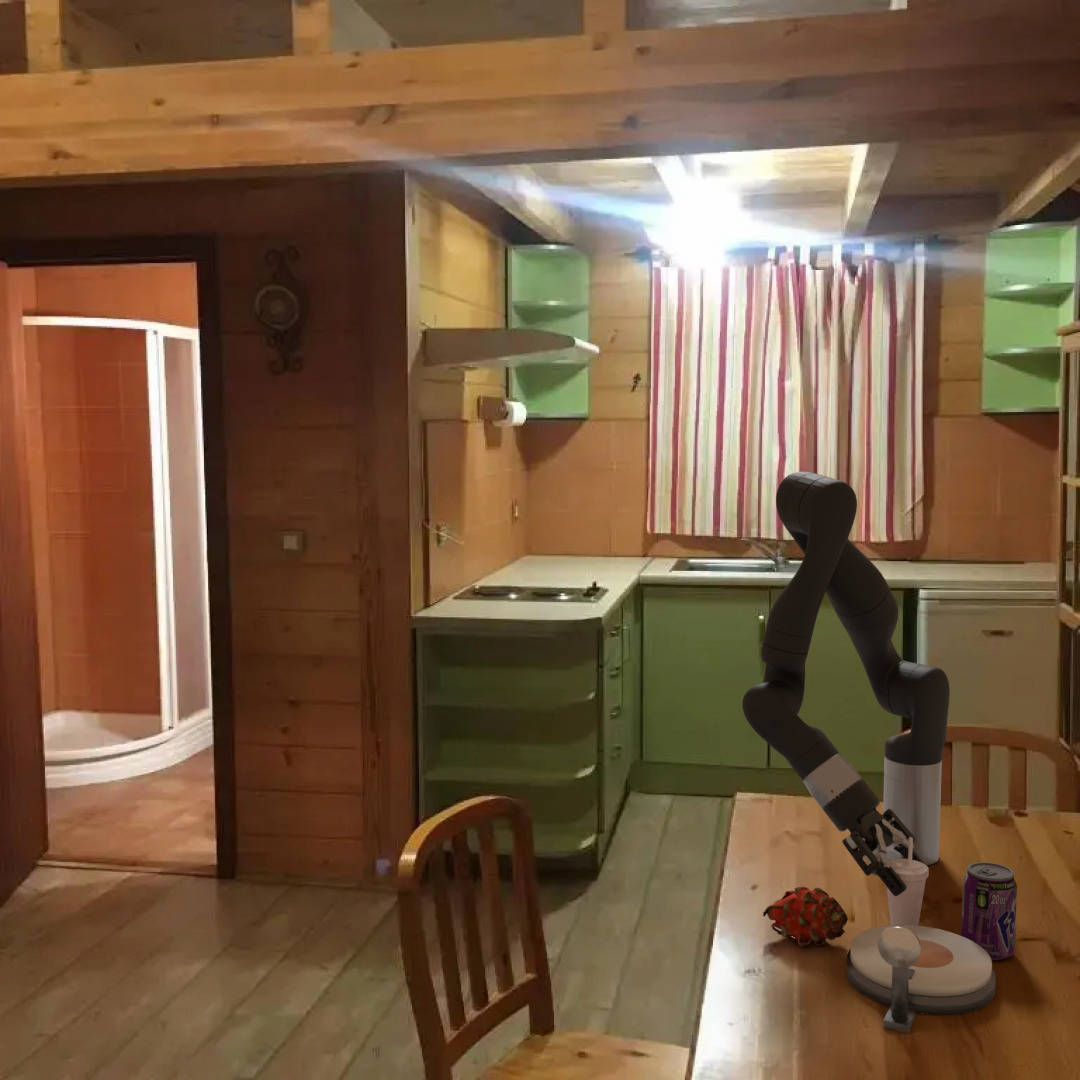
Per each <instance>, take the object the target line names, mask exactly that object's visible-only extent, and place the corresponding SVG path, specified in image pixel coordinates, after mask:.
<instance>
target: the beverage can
mask: <svg viewBox="0 0 1080 1080" xmlns="http://www.w3.org/2000/svg"><path fill="white" fill-rule="evenodd" d="M965 873H966V874H965V875H964V876H963V879H962V899H961V901H962V902H961V904H962V905H961V924H960V925H961V928H960V931H961V932H960V936H962V937H965V938H967V939H969V940H971V941H973V942H974V943H976V944H978V945H979V946H981V947H982V948H983V949H984V950H985V951H986V952H987V953H988V954H989V956H990V958H991V961H999V960H1003V959H1005V958H1009V957H1012V956H1013V955H1014V954H1015V946H1016V923H1017V903H1018V902H1017V896H1018V885H1017V882H1016V880H1015V872H1014V870H1013V869H1012V868H1010V867H1009V866H1006V865H1003V864H1000V863H995V862H989V861H979V862H972V863H970V864H968V865H967V867H966V872H965Z"/></svg>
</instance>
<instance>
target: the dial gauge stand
mask: <svg viewBox="0 0 1080 1080" xmlns="http://www.w3.org/2000/svg"><path fill="white" fill-rule="evenodd" d="M878 950H879V953H880V955H881V957H882V958H883V959H884V960H885V961H886V962H887V963H888V964H890V965H891V966H892V997H891V1006H890V1007H889V1008H888V1009H887V1012H886V1014H885V1016H884V1018H883V1025H882V1026H883V1029H887V1030H892V1031H895V1032H901V1033H905V1034H909V1033H910V1031H911V1028H912V1026H913V1024H914V1021H915V1017H916V1013H915V1011H911V1010H908V991H909V967H911V966H912V965H914V964H915V963H916V962H917V960H918V958H919V956H920V953H921V944H920V941H919V939H918V937H917V936H916V934H915V933H914V932H913V931H911V930H910V929H908V928H906V927H904V926H900V925H894V926H890V927H888V928H886V929H885V930H884V931H883V932H882V934H881V935H880V937H879V940H878Z"/></svg>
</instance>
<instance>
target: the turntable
mask: <svg viewBox="0 0 1080 1080" xmlns="http://www.w3.org/2000/svg"><path fill="white" fill-rule="evenodd" d="M890 926H894V925H891V924H888V925H881V926H875V927H872V928H869V929H868V928H867V929H866V930H864V931H861V932H860V933H858V934H857V935H855V936H854V937H853V939H852V940H851V942H850V949H851V951H850V959H851V962H852V964H853V966H854V967H855V969H856V970H857V971H858V972H859V973H860V974H862V975H863V976H865V977H866V978H868V979H869V980H871V981H873V982H875V983H877V984H879V985H882V986H885V987H887V988H890V989H892V966H891V965H890V964H888V963H887V962H886V961H885V960H884V959H883V958H882V957H881V955H880V953H879V950H878V940H879V937H880V935H881V934H882V932H883V931H884V930H885V929H886V928H888V927H890ZM900 926H904V927H906V928H908V929H910V930H911V931H913V932H914V933H915V934H916V936H917V937H918V939H919V941H920V944H921V953H920V956H919V958H918V960H917V962H916V963H915V964H914V965H912V966H911V967H909V991H908V993H910V994H915V995H923V996H942V997H945V996H957V995H964V994H968V993H972V992H975V991H977V990H979V989H981V988H983V987H984V986H986V985H987V984H988V983H989V981H990V979H991V975H992V968H993V960H991V958H990V956H989V954H988V953H987V952H986V951H985V950H984V949H983V948H982V947H981V946H979V945H978V944H976V943H974V942H973V941H971V940H969V939H967V938H965V937H962V936H961V934H960V935H959V934H957V933H954V932H951V931H948V930H944V929H940V928H935V927H929V926H924V925H918V926H916V925H900Z"/></svg>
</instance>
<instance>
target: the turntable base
mask: <svg viewBox="0 0 1080 1080" xmlns="http://www.w3.org/2000/svg"><path fill="white" fill-rule="evenodd" d="M850 951H851V948H849V950H848V951H847V954H846V960H845V961H846V963H845V964H846V965H845V968H846V969H845V974H846V977H847V980H848V982H849V984H850V985H851V987H853V988H854V989H855V991H857V992H859V993H860V994H861V993H862V996H864V995H865V997H866V996H867V997H866V998H868V999H869V998H870V1000H872V1001H874V1002H876V1003H878V1004H880V1003H881V1004H880V1005H883V1006H886V1007H889V1008H890V1006H891V997H892V989H890V988H887V987H885V986H882V985H879V984H877V983H875V982H873V981H871V980H869V979H868V978H866V977H865V976H863V975H862V974H860V973H859V972H858V971H857V970H856V969H855V967H854V966H853V964H852V962H851V959H850ZM995 994H996V971H995V969H994V968H993V967H992V975H991V979H990V981H989V983H988V984H987V985H986V986H984V987H983V988H981V989H979V990H977V991H975V992H972V993H968V994H964V995H957V996H945V997H942V996H923V995H915V994H910V993H908V1010H911V1011H915V1014H920V1013H923V1014H922V1015H929V1014H930V1015H931V1016H932V1015H933V1016H950V1015H951V1016H952V1015H962V1014H965V1013H971V1012H974V1011H977V1010H980V1009H982V1008H984V1007H985V1006H987V1005H988V1004H990V1002H991V1001H992V1000H993V998H995Z"/></svg>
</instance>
